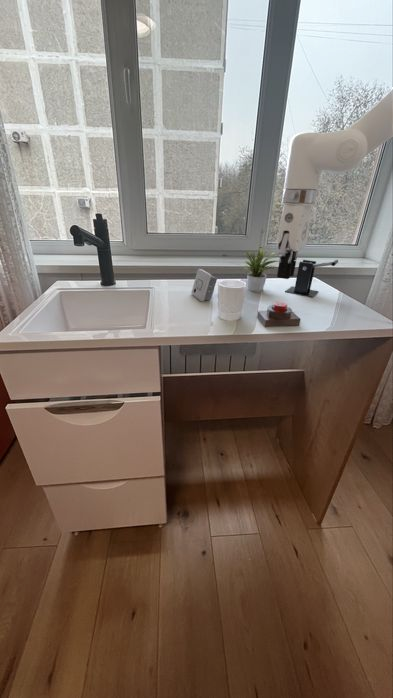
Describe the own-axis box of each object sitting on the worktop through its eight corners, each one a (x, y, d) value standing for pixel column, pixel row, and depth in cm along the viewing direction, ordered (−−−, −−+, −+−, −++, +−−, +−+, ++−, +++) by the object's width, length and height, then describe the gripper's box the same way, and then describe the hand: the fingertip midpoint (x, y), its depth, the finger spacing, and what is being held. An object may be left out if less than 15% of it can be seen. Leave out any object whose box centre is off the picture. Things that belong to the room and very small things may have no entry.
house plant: (252, 301, 97) (258, 251, 89) (226, 290, 107) (230, 244, 99) (281, 294, 104) (289, 248, 96) (254, 285, 114) (260, 242, 106)
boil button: (283, 307, 82) (284, 301, 81) (288, 312, 79) (289, 306, 78) (271, 307, 82) (272, 302, 81) (275, 312, 79) (276, 306, 78)
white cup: (210, 316, 85) (212, 283, 80) (226, 309, 90) (229, 278, 85) (232, 324, 80) (235, 289, 75) (247, 316, 85) (251, 283, 80)
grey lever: (338, 264, 97) (338, 257, 96) (335, 267, 93) (335, 260, 92) (305, 269, 103) (304, 262, 102) (301, 272, 100) (300, 265, 99)
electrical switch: (190, 294, 103) (193, 268, 98) (203, 294, 105) (207, 268, 100) (201, 302, 95) (204, 274, 91) (214, 302, 97) (218, 275, 93)
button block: (289, 316, 86) (291, 304, 84) (299, 326, 80) (302, 312, 78) (257, 317, 85) (258, 304, 83) (264, 327, 79) (266, 313, 77)
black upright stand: (318, 294, 106) (325, 261, 100) (312, 300, 100) (320, 265, 94) (291, 289, 110) (297, 257, 105) (284, 294, 105) (290, 261, 99)
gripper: (304, 199, 59) (289, 286, 68) (323, 198, 71) (307, 273, 80) (270, 198, 63) (259, 280, 72) (293, 198, 75) (281, 269, 84)
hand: (285, 276), depth 76 cm, fingers closed
